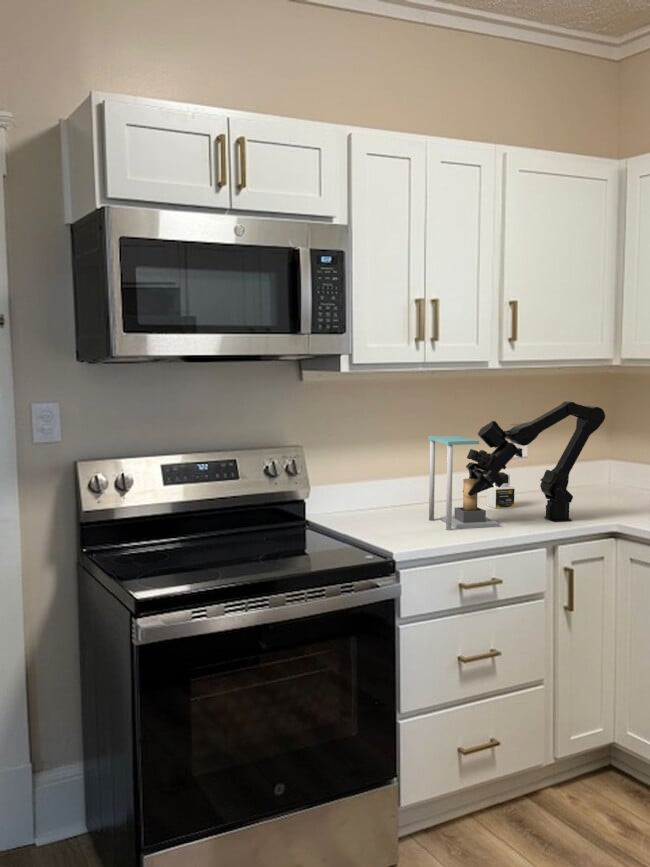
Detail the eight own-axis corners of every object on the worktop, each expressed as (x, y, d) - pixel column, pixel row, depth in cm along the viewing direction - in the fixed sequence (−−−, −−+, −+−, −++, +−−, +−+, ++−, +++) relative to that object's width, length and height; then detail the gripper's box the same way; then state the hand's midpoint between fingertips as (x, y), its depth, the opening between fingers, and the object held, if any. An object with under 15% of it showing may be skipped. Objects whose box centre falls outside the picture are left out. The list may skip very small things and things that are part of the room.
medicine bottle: (495, 509, 299) (496, 474, 298) (486, 505, 306) (487, 471, 305) (514, 508, 301) (515, 473, 300) (504, 504, 308) (505, 471, 307)
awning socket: (479, 517, 284) (480, 435, 281) (501, 527, 267) (503, 440, 265) (427, 519, 280) (428, 436, 277) (446, 530, 263) (448, 441, 261)
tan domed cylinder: (469, 512, 277) (470, 478, 276) (480, 514, 273) (480, 479, 272) (460, 513, 274) (460, 479, 273) (470, 516, 271) (471, 481, 270)
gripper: (472, 437, 281) (439, 472, 280) (494, 443, 263) (459, 480, 262) (494, 460, 284) (462, 495, 283) (518, 468, 266) (483, 505, 264)
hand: (466, 493), depth 273 cm, fingers closed on tan domed cylinder, 4 cm apart
